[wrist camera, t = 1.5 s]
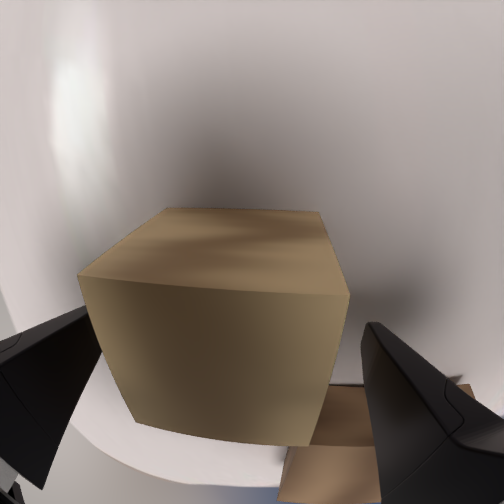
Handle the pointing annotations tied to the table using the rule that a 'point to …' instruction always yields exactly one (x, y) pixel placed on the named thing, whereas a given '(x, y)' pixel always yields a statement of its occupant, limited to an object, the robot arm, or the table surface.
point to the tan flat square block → (336, 454)
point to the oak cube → (221, 322)
